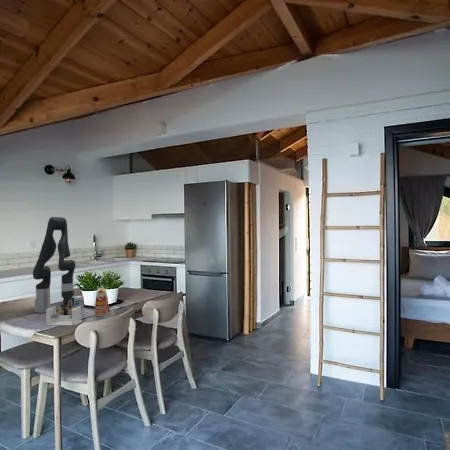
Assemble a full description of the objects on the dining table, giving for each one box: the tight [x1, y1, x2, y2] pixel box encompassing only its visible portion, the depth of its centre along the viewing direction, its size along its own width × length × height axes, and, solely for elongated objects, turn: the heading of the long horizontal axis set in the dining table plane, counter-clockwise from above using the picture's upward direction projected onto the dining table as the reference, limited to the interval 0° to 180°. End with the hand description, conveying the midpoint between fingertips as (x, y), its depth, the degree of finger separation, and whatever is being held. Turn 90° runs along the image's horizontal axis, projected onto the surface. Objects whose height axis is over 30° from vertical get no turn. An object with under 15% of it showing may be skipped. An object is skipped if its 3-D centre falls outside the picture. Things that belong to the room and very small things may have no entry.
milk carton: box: [93, 285, 111, 317], centre depth 249 cm, size 9×9×20 cm
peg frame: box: [45, 305, 83, 326], centre depth 228 cm, size 20×9×10 cm, turn 84°
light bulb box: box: [72, 295, 85, 312], centre depth 258 cm, size 11×7×11 cm, turn 168°
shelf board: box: [56, 307, 75, 315], centre depth 238 cm, size 14×5×3 cm, turn 84°
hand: (68, 314), depth 238 cm, fingers closed on shelf board, 5 cm apart
